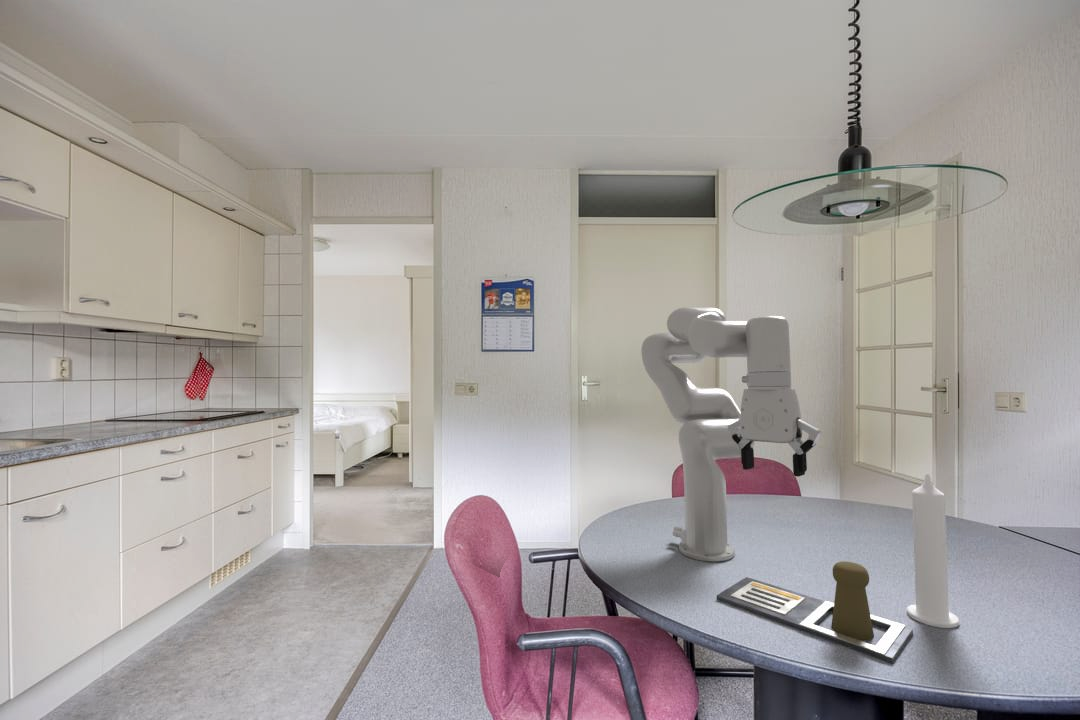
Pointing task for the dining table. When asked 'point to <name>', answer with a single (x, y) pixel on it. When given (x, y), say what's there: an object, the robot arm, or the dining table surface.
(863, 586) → the cork
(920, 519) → the candle
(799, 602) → the panel
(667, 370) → the robot arm
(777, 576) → the dining table surface
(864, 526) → the dining table surface
